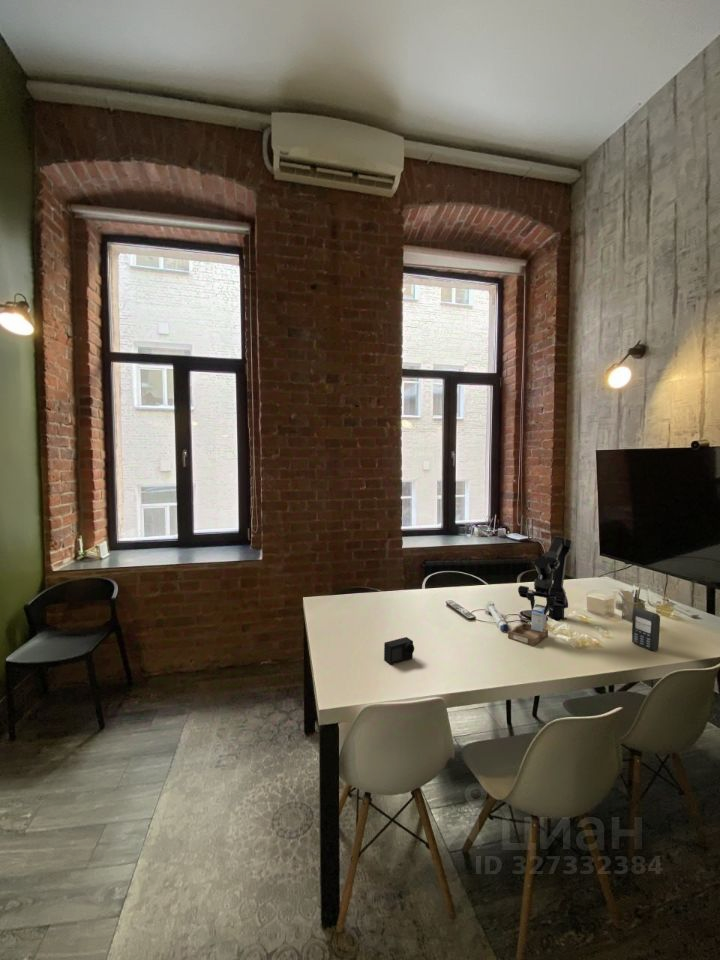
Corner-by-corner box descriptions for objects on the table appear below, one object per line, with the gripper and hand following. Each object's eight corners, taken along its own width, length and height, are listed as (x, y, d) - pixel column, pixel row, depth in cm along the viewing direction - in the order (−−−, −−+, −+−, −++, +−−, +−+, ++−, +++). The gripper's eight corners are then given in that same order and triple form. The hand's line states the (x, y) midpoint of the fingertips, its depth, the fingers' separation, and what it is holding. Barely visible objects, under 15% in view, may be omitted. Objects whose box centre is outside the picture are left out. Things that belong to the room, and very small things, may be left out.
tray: (523, 628, 183) (523, 622, 183) (547, 636, 175) (548, 629, 175) (507, 638, 173) (507, 631, 172) (533, 646, 165) (533, 639, 165)
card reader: (629, 643, 170) (631, 608, 169) (636, 641, 172) (637, 606, 171) (653, 652, 162) (654, 615, 161) (659, 650, 163) (661, 614, 163)
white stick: (499, 623, 179) (483, 597, 204) (498, 637, 180) (482, 609, 205) (511, 624, 179) (494, 597, 204) (509, 638, 180) (493, 610, 205)
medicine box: (535, 623, 176) (535, 603, 175) (546, 625, 173) (546, 606, 173) (531, 629, 169) (531, 609, 169) (542, 632, 167) (543, 611, 166)
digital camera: (392, 666, 147) (392, 647, 146) (383, 660, 151) (384, 642, 151) (414, 660, 152) (415, 642, 152) (406, 654, 157) (406, 636, 156)
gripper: (519, 567, 178) (512, 599, 170) (566, 574, 168) (560, 608, 159) (523, 580, 185) (516, 611, 177) (568, 588, 175) (563, 621, 166)
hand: (538, 613), depth 170 cm, fingers closed on medicine box, 4 cm apart
